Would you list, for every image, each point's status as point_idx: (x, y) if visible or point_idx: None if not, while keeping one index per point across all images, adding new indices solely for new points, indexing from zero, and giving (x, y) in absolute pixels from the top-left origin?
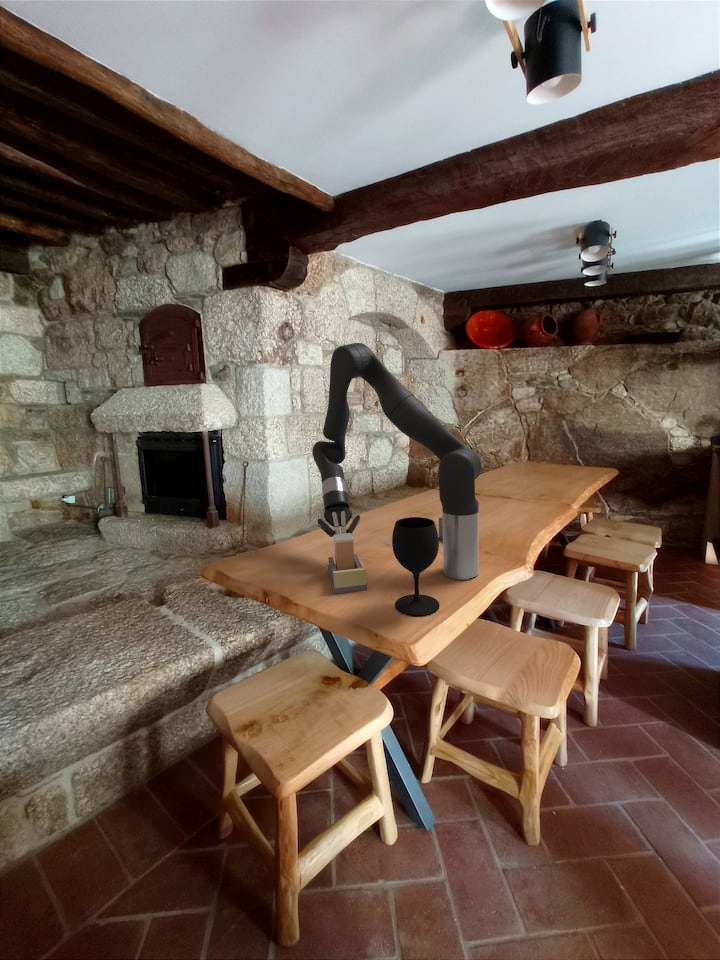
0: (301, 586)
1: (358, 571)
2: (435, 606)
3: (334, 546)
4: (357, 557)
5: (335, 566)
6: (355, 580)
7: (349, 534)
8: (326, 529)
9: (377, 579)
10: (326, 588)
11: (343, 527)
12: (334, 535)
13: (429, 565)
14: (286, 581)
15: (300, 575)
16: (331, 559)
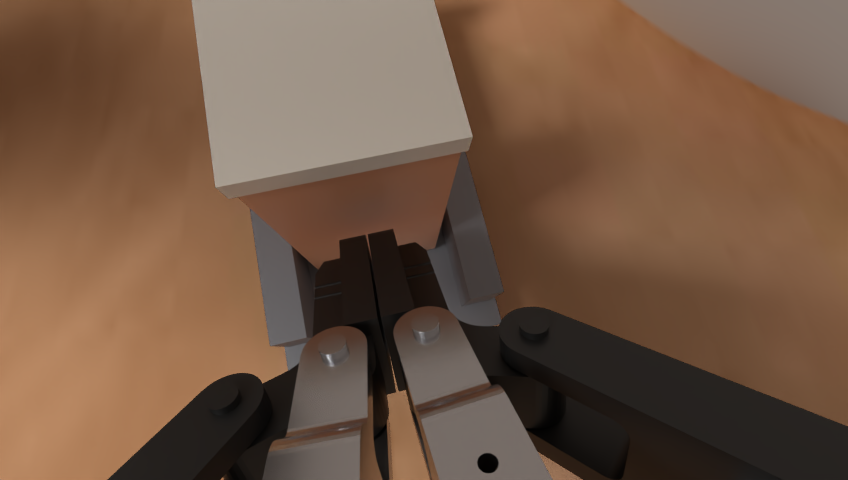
0: (597, 104)
1: None
2: None
3: (448, 192)
4: (262, 272)
5: (442, 285)
6: None
7: (235, 119)
8: (628, 346)
9: (180, 161)
10: (460, 75)
11: (331, 414)
12: (449, 99)
13: None
14: (702, 168)
15: (649, 245)
16: (471, 244)
